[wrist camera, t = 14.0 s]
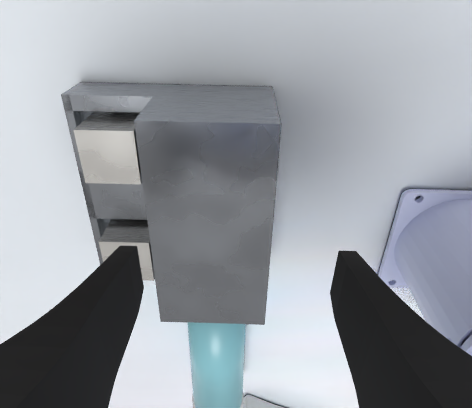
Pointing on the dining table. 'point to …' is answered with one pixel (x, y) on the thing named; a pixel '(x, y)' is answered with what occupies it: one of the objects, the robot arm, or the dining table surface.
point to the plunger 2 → (129, 242)
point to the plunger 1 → (109, 148)
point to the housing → (194, 191)
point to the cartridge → (217, 364)
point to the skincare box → (257, 403)
